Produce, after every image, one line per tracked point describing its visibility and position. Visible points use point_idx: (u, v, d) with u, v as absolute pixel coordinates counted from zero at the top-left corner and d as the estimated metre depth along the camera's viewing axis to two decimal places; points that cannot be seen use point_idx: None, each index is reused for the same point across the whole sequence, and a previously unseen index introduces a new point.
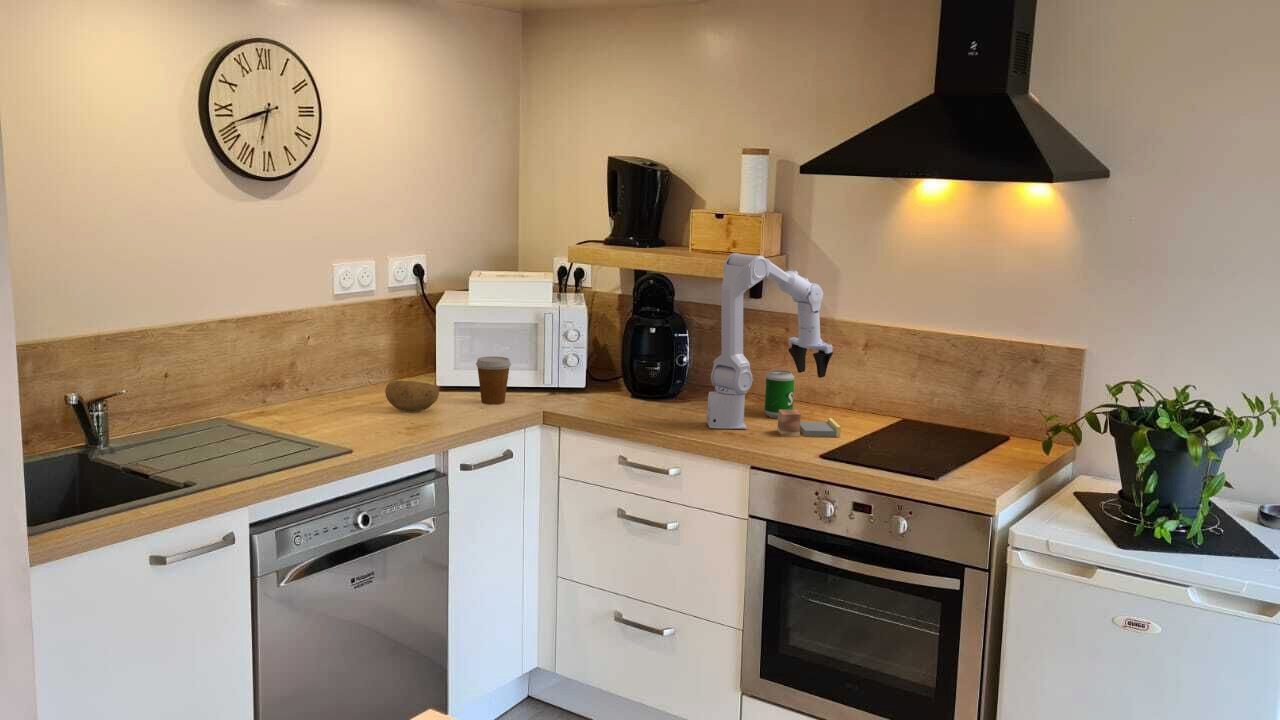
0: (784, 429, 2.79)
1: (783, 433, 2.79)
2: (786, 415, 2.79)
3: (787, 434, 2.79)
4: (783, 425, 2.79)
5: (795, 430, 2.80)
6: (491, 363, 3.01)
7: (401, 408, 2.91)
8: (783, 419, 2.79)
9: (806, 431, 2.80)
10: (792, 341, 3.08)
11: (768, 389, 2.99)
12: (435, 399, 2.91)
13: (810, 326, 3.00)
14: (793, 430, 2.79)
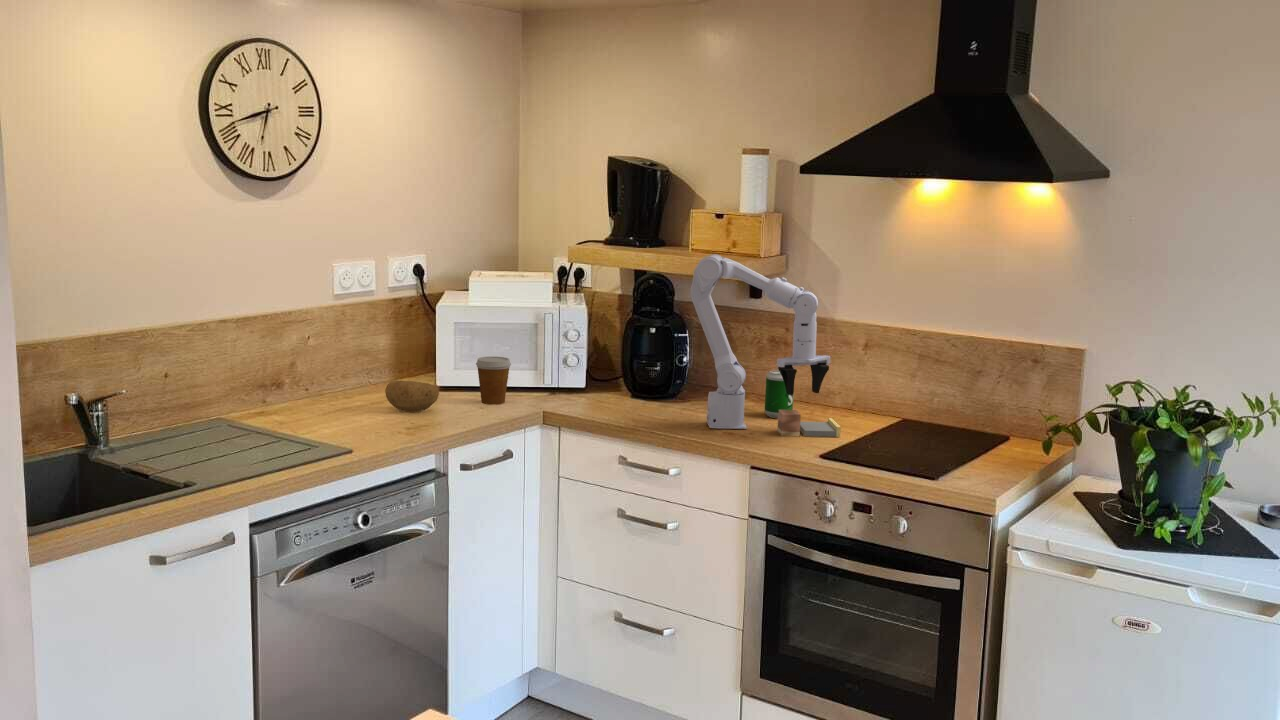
0: (784, 429, 2.79)
1: (783, 433, 2.79)
2: (786, 415, 2.79)
3: (787, 434, 2.79)
4: (783, 425, 2.79)
5: (795, 430, 2.80)
6: (491, 363, 3.01)
7: (401, 408, 2.91)
8: (783, 419, 2.79)
9: (806, 431, 2.80)
10: None
11: (768, 389, 2.99)
12: (435, 399, 2.91)
13: (796, 338, 2.79)
14: (793, 430, 2.79)
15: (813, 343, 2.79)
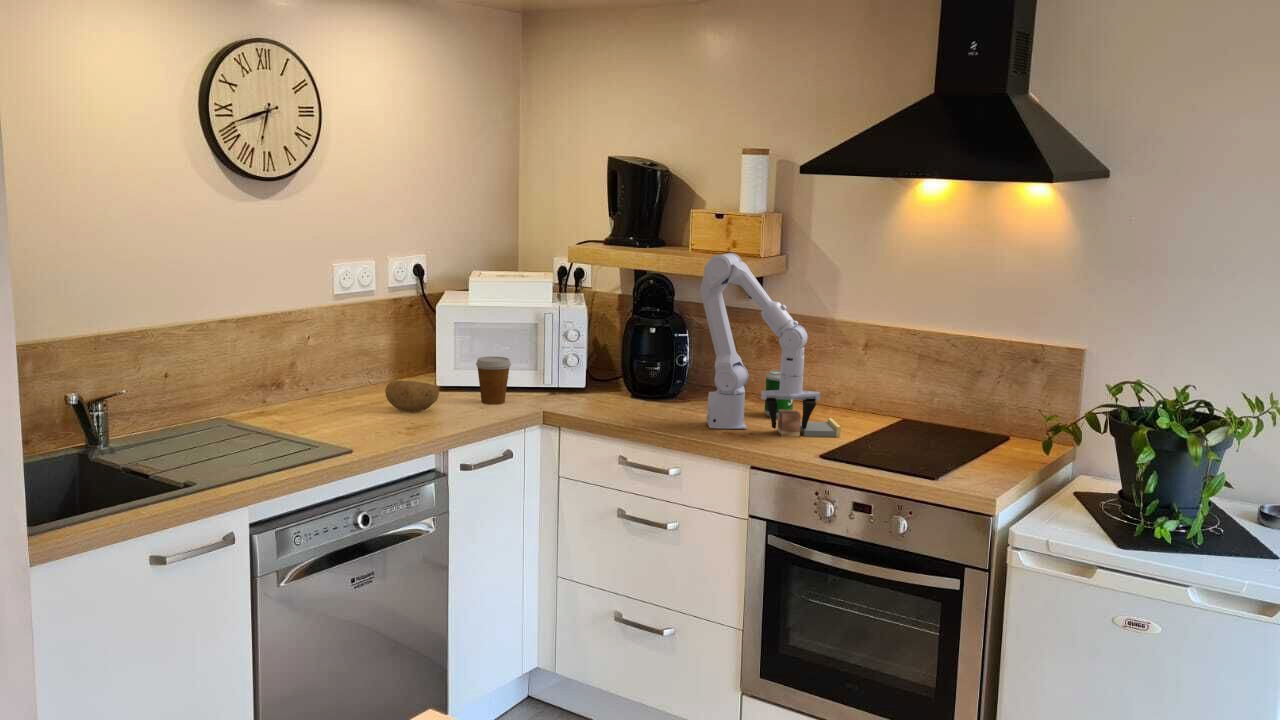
0: (784, 429, 2.79)
1: (783, 433, 2.79)
2: (786, 415, 2.79)
3: (787, 434, 2.79)
4: (783, 425, 2.79)
5: (795, 430, 2.80)
6: (491, 363, 3.01)
7: (401, 408, 2.91)
8: (783, 419, 2.79)
9: (806, 431, 2.80)
10: None
11: (768, 389, 2.99)
12: (435, 399, 2.91)
13: (782, 372, 2.79)
14: (793, 430, 2.79)
15: (797, 378, 2.77)
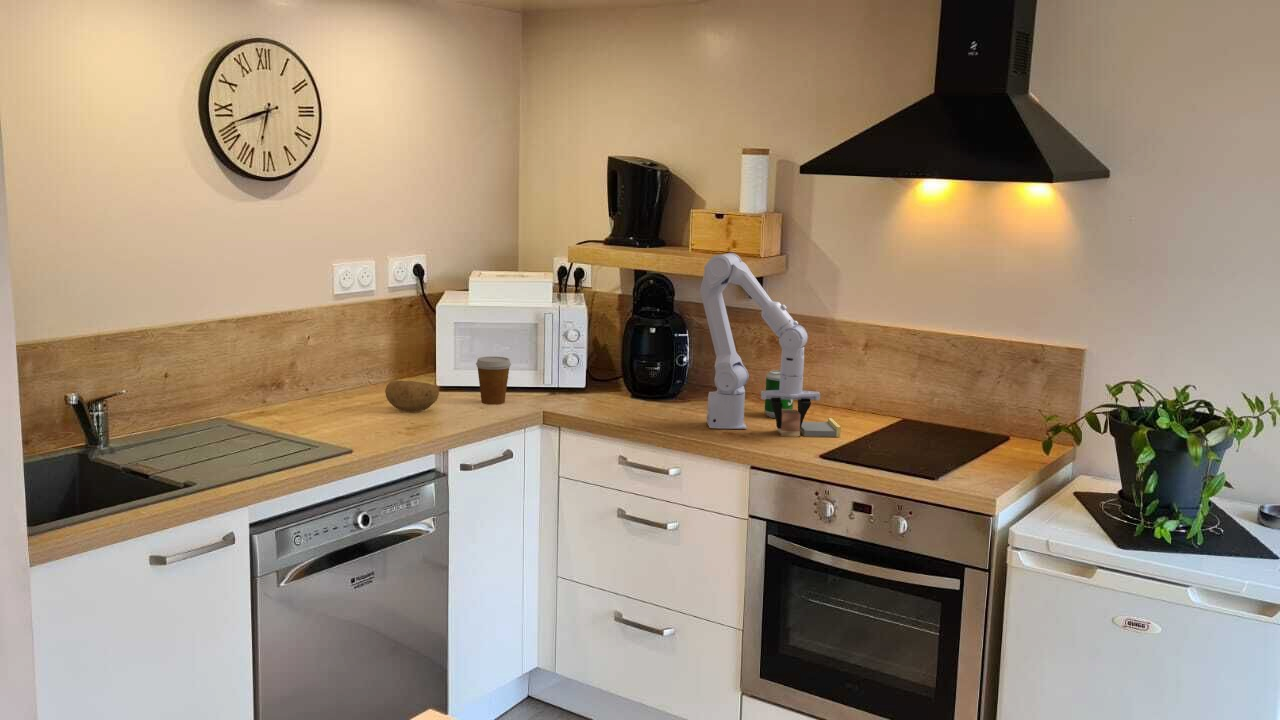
0: (784, 428, 2.79)
1: (783, 432, 2.79)
2: (786, 414, 2.79)
3: (787, 433, 2.79)
4: (783, 424, 2.79)
5: (795, 429, 2.80)
6: (491, 363, 3.01)
7: (401, 408, 2.91)
8: (783, 418, 2.79)
9: (806, 431, 2.80)
10: None
11: (768, 389, 2.99)
12: (435, 399, 2.91)
13: (782, 372, 2.79)
14: (793, 429, 2.79)
15: (797, 378, 2.77)
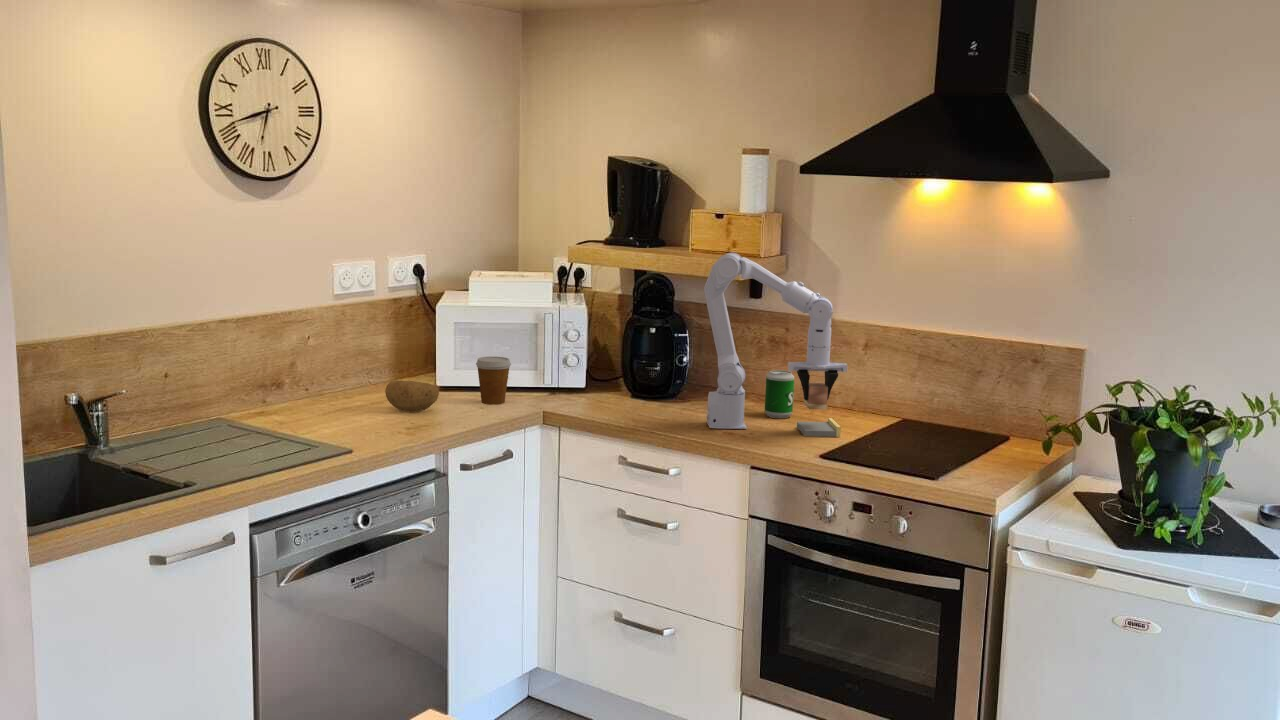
0: (811, 402, 2.80)
1: (811, 406, 2.80)
2: (814, 388, 2.80)
3: (814, 407, 2.80)
4: (810, 397, 2.80)
5: (822, 403, 2.80)
6: (491, 363, 3.01)
7: (401, 408, 2.91)
8: (811, 392, 2.80)
9: (806, 431, 2.80)
10: None
11: (768, 389, 2.99)
12: (435, 399, 2.91)
13: (811, 344, 2.79)
14: (821, 402, 2.80)
15: (824, 349, 2.78)
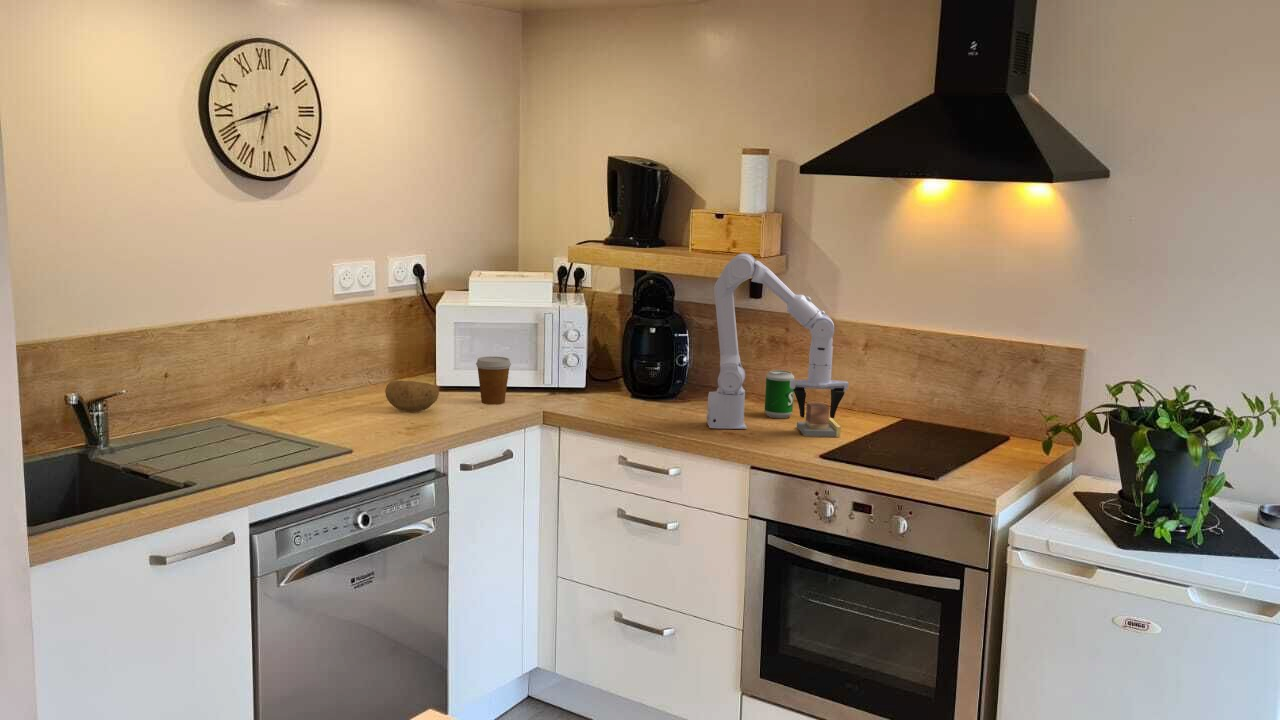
0: (813, 421, 2.81)
1: (812, 425, 2.81)
2: (815, 408, 2.81)
3: (816, 426, 2.81)
4: (812, 417, 2.81)
5: (824, 422, 2.82)
6: (491, 363, 3.01)
7: (401, 408, 2.91)
8: (812, 412, 2.81)
9: (806, 431, 2.80)
10: None
11: (768, 389, 2.99)
12: (435, 399, 2.91)
13: (812, 362, 2.80)
14: (822, 422, 2.82)
15: (825, 368, 2.79)
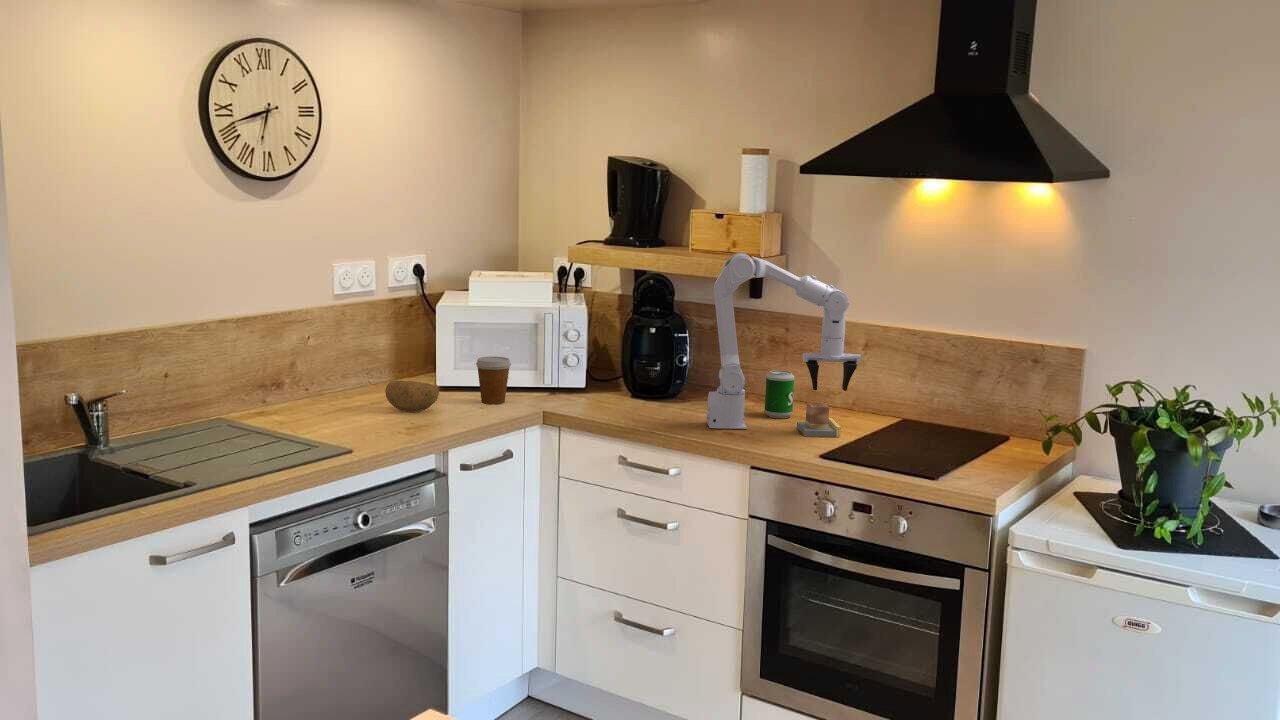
0: (813, 421, 2.81)
1: (812, 425, 2.81)
2: (815, 408, 2.81)
3: (816, 426, 2.81)
4: (812, 417, 2.81)
5: (824, 422, 2.82)
6: (491, 363, 3.01)
7: (401, 408, 2.91)
8: (812, 412, 2.81)
9: (806, 431, 2.80)
10: None
11: (768, 389, 2.99)
12: (435, 399, 2.91)
13: (826, 335, 2.82)
14: (822, 422, 2.82)
15: (838, 340, 2.81)
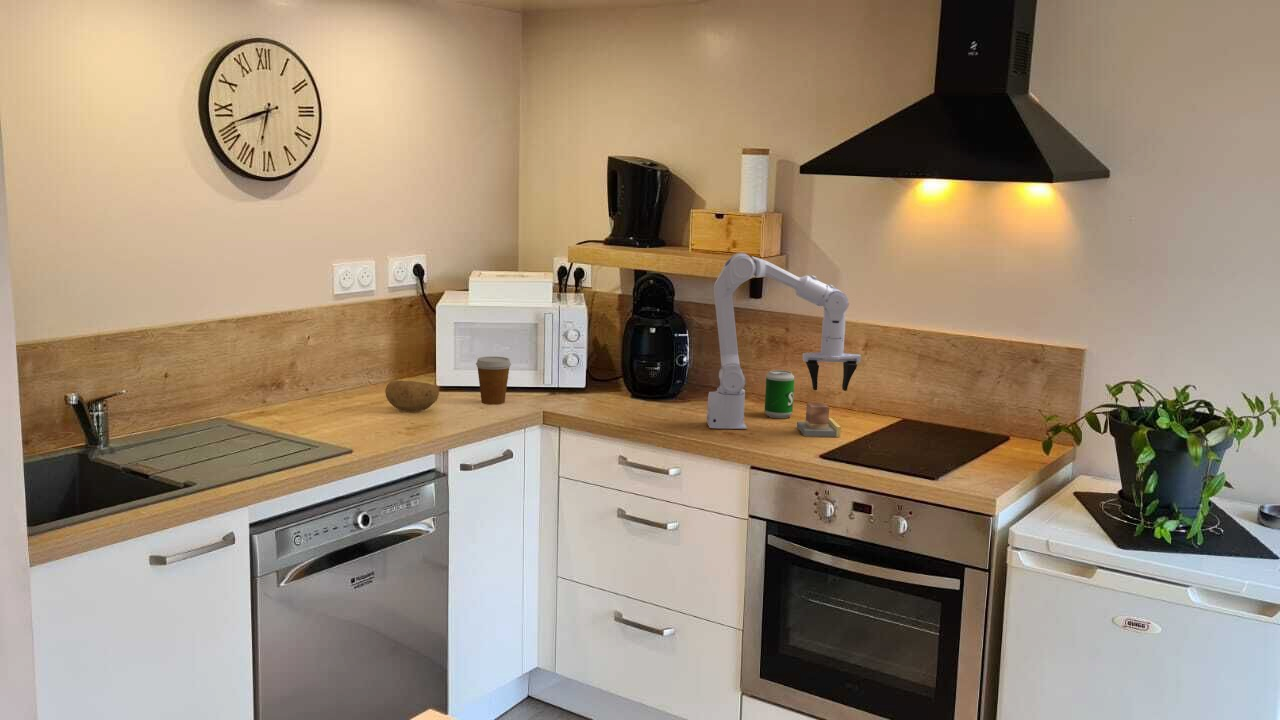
0: (813, 421, 2.81)
1: (812, 425, 2.81)
2: (815, 408, 2.81)
3: (816, 426, 2.81)
4: (812, 417, 2.81)
5: (824, 422, 2.82)
6: (491, 363, 3.01)
7: (401, 408, 2.91)
8: (812, 412, 2.81)
9: (806, 431, 2.80)
10: None
11: (768, 389, 2.99)
12: (435, 399, 2.91)
13: (826, 335, 2.82)
14: (822, 422, 2.82)
15: (838, 340, 2.81)
